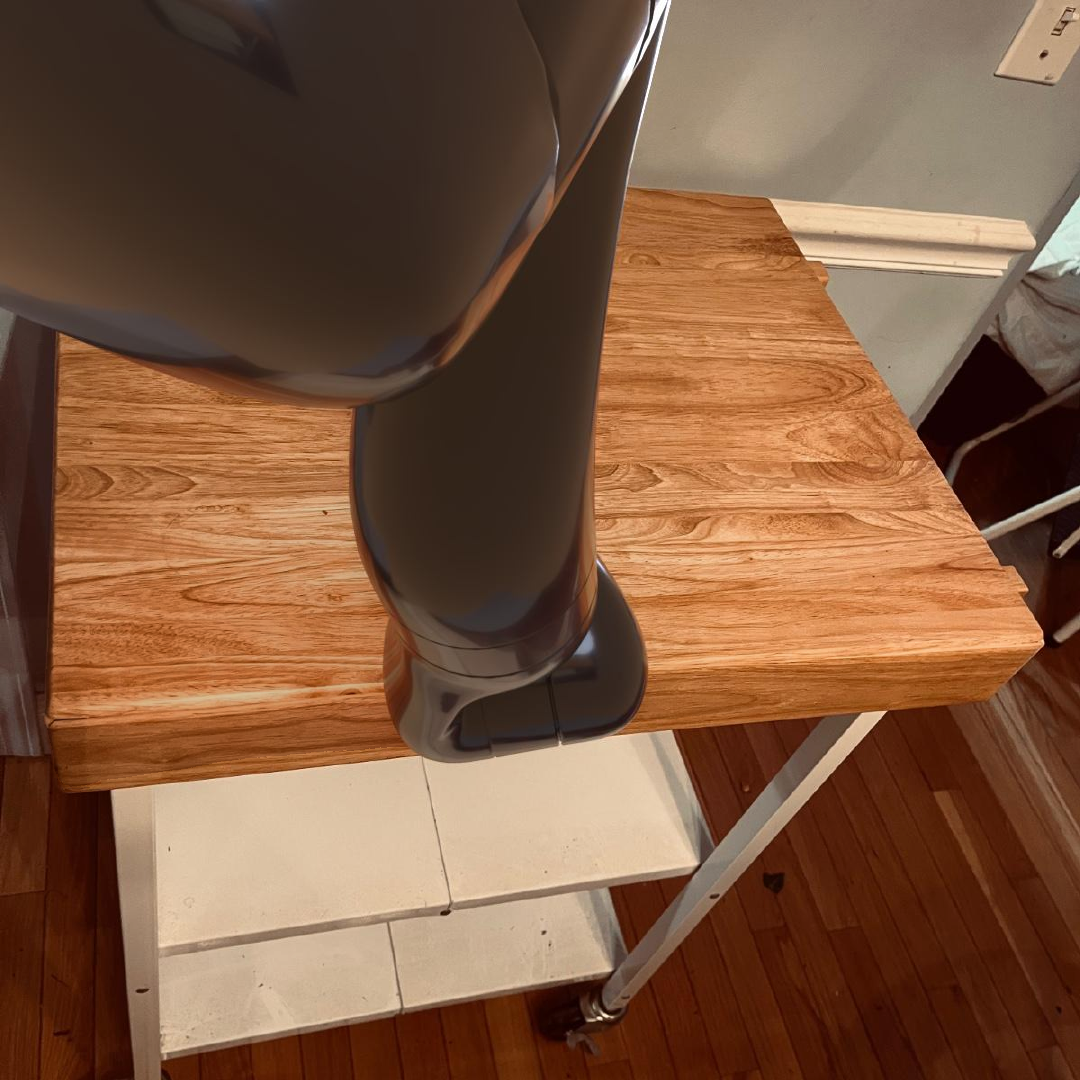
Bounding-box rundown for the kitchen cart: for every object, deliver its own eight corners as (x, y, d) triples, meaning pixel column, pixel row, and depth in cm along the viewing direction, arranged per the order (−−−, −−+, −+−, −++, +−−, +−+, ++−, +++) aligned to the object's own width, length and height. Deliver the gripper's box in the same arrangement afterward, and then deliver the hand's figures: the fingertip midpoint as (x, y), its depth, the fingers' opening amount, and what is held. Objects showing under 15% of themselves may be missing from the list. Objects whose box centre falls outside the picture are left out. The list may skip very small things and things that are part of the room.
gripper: (628, 344, 53) (575, 165, 63) (335, 314, 49) (329, 128, 59) (587, 451, 58) (544, 271, 68) (321, 432, 54) (317, 243, 64)
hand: (444, 205), depth 64 cm, fingers open, 8 cm apart
